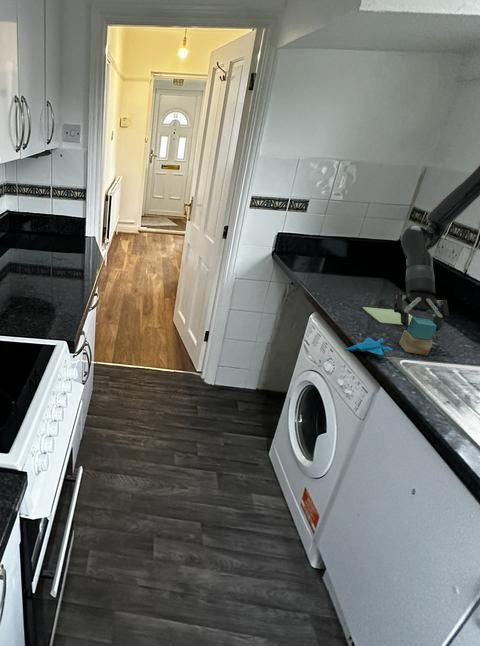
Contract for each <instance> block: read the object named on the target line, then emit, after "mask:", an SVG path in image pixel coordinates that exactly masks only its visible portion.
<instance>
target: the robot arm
mask: <svg viewBox="0 0 480 646" xmlns="http://www.w3.org/2000/svg"><path fill="white" fill-rule="evenodd" d="M478 198H480V164H479V165H478V166H477V167H476V168H475V170H474V171H472V173H471V174H470V175H468V177H467V178H466V179H464V181H463V182H461V183H460V184H459V185H457V187H455V188H454V189H453V190H451V192H449V193H448V194H447V195H446V196H445V197H444V198H442V200H440V201H439V202H438V204H437V205H435V206H434V208H432V209H431V210H430V212H428V213H427V215H426V221H428V224H427V226H426V227H423V226H421V225H418V224H417V225H416V224H413V225H410V226H408V227H406V228H405V229H404V230H403V231H402V233H401V237H400V244H401V248H402V251H403V254H404V257H405V278H404V282H405V294H402V293H401V292H399V293H397V294H396V295H395V296H394V298H393V299H394V300H393V310H394V312H398V313H400V314H401V323H402V324H403V325H402V324H401V325H402V326H403V327H408V326H409V325H408V324H409V314H410V313H409V312H410V310H413V311H419V312H422V313H425V312H426V313H427V315H429V316H430V317H431V318H432V322H433V323H434V324H435V325H436V326H437V327H436V330H435V332H438V331H440V329H442V327H443V322H442V320H445V319H447V318H449V317H450V312H449V311H450V310H449V304H448V300H447V299H446V298H445V299H442V300H441V299H437V298H436V282H435V272H434V259H433V255H432V254H431V252H429V251H430V250H432V249H433V248H434V247H435V246H436V245H437V244H438V243H439V242H440V240H441V239H442V237H443V236H444V234H445V233H446V231H447V230H448V228H449V226H450V225H451V224H452V223H454V221H456V220H457V219H458V218H459V217H460V216H461V215H462V214H463V213H464V212H465V211H467V209H468V208H469V207H470V206H471V205H472V204H473V203H474V202H475V201H476V200H477V199H478ZM403 301H405V302H406V304H407V305H406V306H405V307H404V308H403Z"/></svg>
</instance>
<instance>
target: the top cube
mask: <svg viewBox="0 0 480 646" xmlns="http://www.w3.org/2000/svg"><path fill="white" fill-rule="evenodd" d="M436 327H437V326H436V325H435V324H434V323H433V320H431V319H429V318H421V317H414V316H413V317H412V319H411V321H410V324H409V325H407V329H406V330H407V332H408V333H409V334H410V335H411V336H412V337H413V338H418V339H425V340H432V339H433V337H434V335H435V332H436V331H435V330H436Z"/></svg>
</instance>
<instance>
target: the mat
mask: <svg viewBox="0 0 480 646" xmlns="http://www.w3.org/2000/svg"><path fill="white" fill-rule="evenodd" d="M361 308H362V309H363V310H364V312H366V313H367V314H368V315H370V316H371V317H372V318H373V319H374V320H375V321H376V322H377V321H378V322H379V323H381V324H382V323H383V324H393V325H402V326H403V324H402V323H401V314H400V313H398V312H394V309H390V308H379V307H365V306H362V307H361ZM412 317H414V316H413V315H411V314H410V313H409V324H410V321H411V319H412ZM409 324H408V325H407V326H409Z"/></svg>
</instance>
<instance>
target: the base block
mask: <svg viewBox="0 0 480 646" xmlns="http://www.w3.org/2000/svg"><path fill="white" fill-rule="evenodd" d="M433 343H434V340H432V339H431V340H425V339H418V338H413V337H412V336H411V335H410V334H409V333H408V332H407V329H404V330H403V332H402V335H401V338H400V340H399V342H398V344H399V346H400V347H401V348H402V349H403V351H404V352H405V353H409V354H416V355H421V356H422V355H423V356H428V355H429V353H430V351H431V349H432V346H433Z"/></svg>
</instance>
